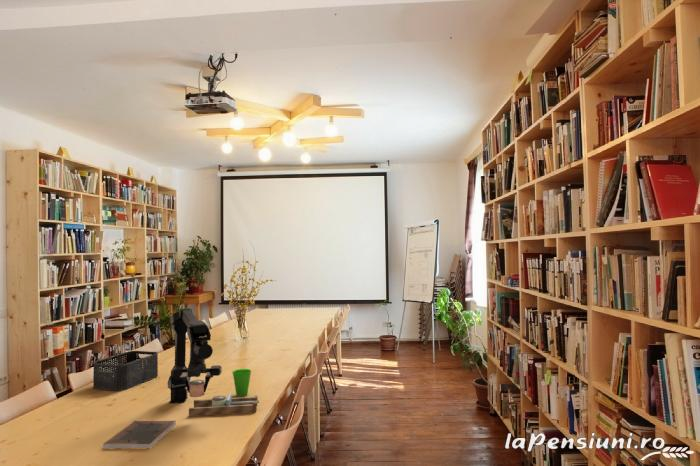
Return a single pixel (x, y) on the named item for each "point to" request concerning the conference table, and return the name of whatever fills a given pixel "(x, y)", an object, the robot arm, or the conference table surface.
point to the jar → (197, 388)
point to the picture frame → (140, 434)
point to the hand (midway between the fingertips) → (197, 392)
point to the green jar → (219, 401)
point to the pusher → (229, 402)
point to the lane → (223, 407)
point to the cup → (241, 381)
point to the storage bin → (125, 370)
